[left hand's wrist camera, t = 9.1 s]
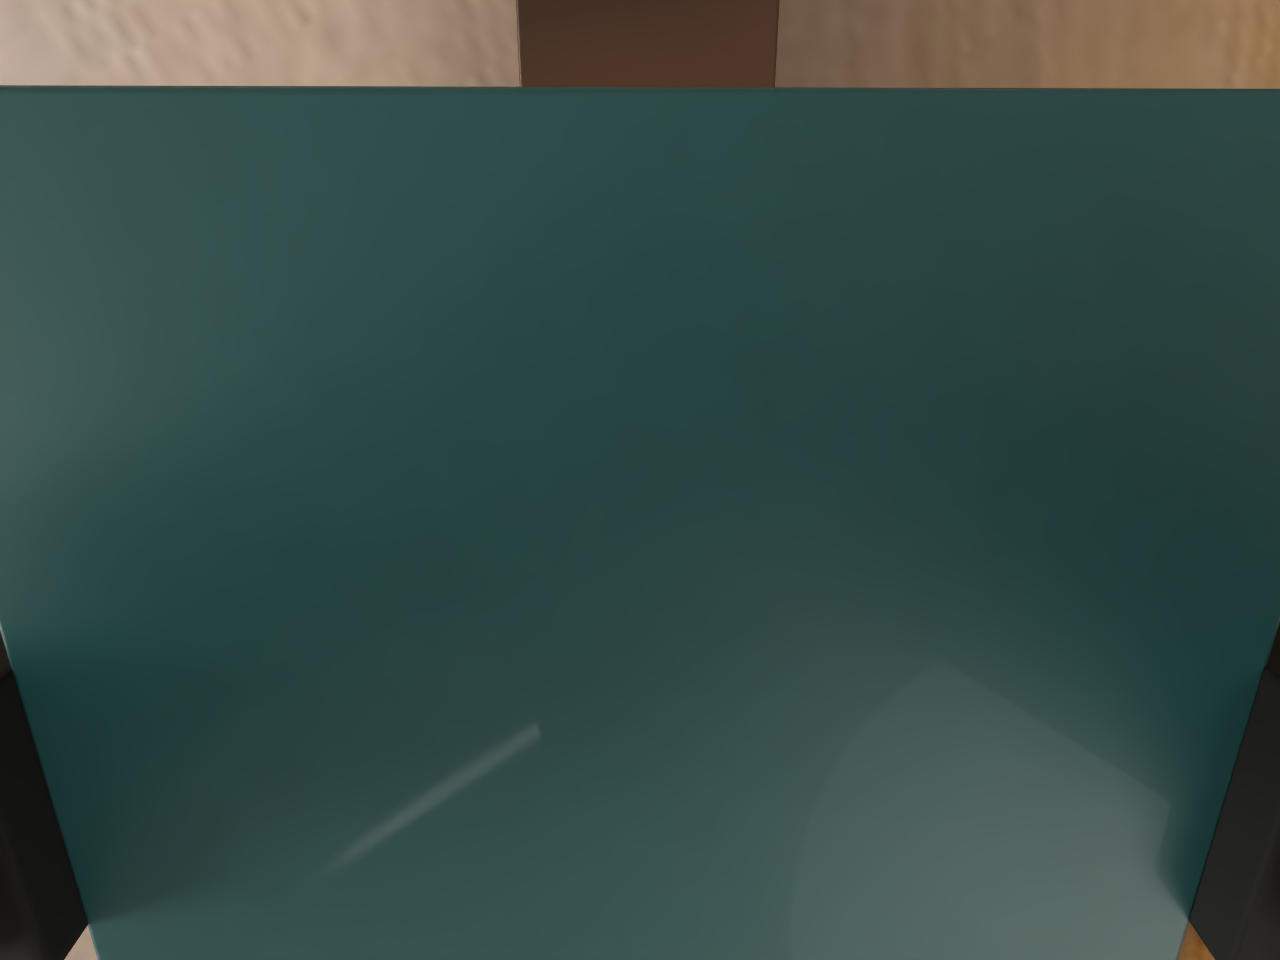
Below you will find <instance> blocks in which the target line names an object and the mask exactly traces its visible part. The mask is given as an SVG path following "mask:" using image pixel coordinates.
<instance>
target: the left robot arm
mask: <svg viewBox="0 0 1280 960" xmlns="http://www.w3.org/2000/svg"><path fill="white" fill-rule="evenodd" d="M1189 922H1190V923H1191V925H1192V926H1193V928H1194V929H1195V931H1196V932H1197V933H1198V935H1199V936H1200V938H1201V939H1202V941H1203V942H1204V944H1205V945H1206V947H1207V948H1208V950H1209V951H1210V953H1211V954H1212V955H1213V957H1214V958H1215V960H1280V622H1279V626H1278V629H1277V632H1276V636H1275V639H1274V642H1273V646H1272V649H1271V652H1270V655H1269V659H1268V662H1267V665H1266V666H1265V667H1264V671H1263V674H1262V677H1261V681H1260V684H1259V687H1258V691H1257V694H1256V697H1255V701H1254V704H1253V707H1252V711H1251V714H1250V717H1249V721H1248V724H1247V727H1246V731H1245V734H1244V737H1243V741H1242V744H1241V747H1240V751H1239V754H1238V757H1237V761H1236V764H1235V767H1234V771H1233V774H1232V777H1231V781H1230V784H1229V787H1228V791H1227V794H1226V797H1225V801H1224V804H1223V807H1222V811H1221V814H1220V817H1219V821H1218V824H1217V827H1216V831H1215V834H1214V837H1213V841H1212V844H1211V847H1210V851H1209V854H1208V857H1207V861H1206V864H1205V868H1204V871H1203V874H1202V878H1201V881H1200V884H1199V888H1198V891H1197V894H1196V898H1195V901H1194V904H1193V908H1192V911H1191V914H1190V918H1189ZM87 925H88V922H87V919H86V915H85V912H84V909H83V905H82V902H81V899H80V895H79V892H78V889H77V885H76V882H75V879H74V875H73V872H72V869H71V865H70V862H69V859H68V855H67V852H66V849H65V845H64V842H63V839H62V835H61V832H60V829H59V825H58V822H57V819H56V815H55V812H54V809H53V805H52V802H51V799H50V795H49V792H48V789H47V785H46V782H45V779H44V775H43V772H42V769H41V765H40V762H39V759H38V755H37V752H36V749H35V745H34V742H33V739H32V735H31V732H30V729H29V725H28V722H27V719H26V715H25V712H24V709H23V705H22V702H21V698H20V695H19V692H18V688H17V685H16V682H15V678H14V675H13V672H12V668H11V665H10V662H9V658H8V655H7V651H6V648H5V645H4V641H3V638H2V635H1V631H0V960H64V959H65V957H66V956H67V955H68V953H69V952H70V950H71V949H72V947H73V946H74V944H75V943H76V941H77V940H78V938H79V937H80V935H81V934H82V932H83V931H84V930H85V928H86V927H87Z"/></svg>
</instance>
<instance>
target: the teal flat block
mask: <svg viewBox="0 0 1280 960" xmlns="http://www.w3.org/2000/svg"><path fill="white" fill-rule="evenodd" d="M1279 622H1280V89H1103V88H738V87H373V86H9V85H0V631H1V635H2V638H3V641H4V645H5V648H6V651H7V655H8V658H9V662H10V665H11V668H12V672H13V675H14V678H15V682H16V685H17V688H18V692H19V695H20V698H21V702H22V705H23V709H24V712H25V715H26V719H27V722H28V725H29V729H30V732H31V735H32V739H33V742H34V745H35V749H36V752H37V755H38V759H39V762H40V765H41V769H42V772H43V775H44V779H45V782H46V785H47V789H48V792H49V795H50V799H51V802H52V805H53V809H54V812H55V815H56V819H57V822H58V825H59V829H60V832H61V835H62V839H63V842H64V845H65V849H66V852H67V855H68V859H69V862H70V865H71V869H72V872H73V875H74V879H75V882H76V885H77V889H78V892H79V895H80V899H81V902H82V905H83V909H84V912H85V915H86V919H87V922H88V927H89V930H90V934H91V937H92V940H93V944H94V947H95V950H96V954H97V957H98V960H1178V957H1179V953H1180V950H1181V947H1182V944H1183V940H1184V937H1185V934H1186V930H1187V927H1188V924H1189V918H1190V914H1191V911H1192V908H1193V904H1194V901H1195V898H1196V894H1197V891H1198V888H1199V884H1200V881H1201V878H1202V874H1203V871H1204V868H1205V864H1206V861H1207V857H1208V854H1209V851H1210V847H1211V844H1212V841H1213V837H1214V834H1215V831H1216V827H1217V824H1218V821H1219V817H1220V814H1221V811H1222V807H1223V804H1224V801H1225V797H1226V794H1227V791H1228V787H1229V784H1230V781H1231V777H1232V774H1233V771H1234V767H1235V764H1236V761H1237V757H1238V754H1239V751H1240V747H1241V744H1242V741H1243V737H1244V734H1245V731H1246V727H1247V724H1248V721H1249V717H1250V714H1251V711H1252V707H1253V704H1254V701H1255V697H1256V694H1257V691H1258V687H1259V684H1260V681H1261V677H1262V674H1263V671H1264V667H1265V666H1266V665H1267V662H1268V659H1269V655H1270V652H1271V649H1272V646H1273V642H1274V639H1275V636H1276V632H1277V629H1278V626H1279Z"/></svg>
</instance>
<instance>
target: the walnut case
mask: <svg viewBox="0 0 1280 960" xmlns="http://www.w3.org/2000/svg"><path fill="white" fill-rule="evenodd" d="M516 9H517V32H518V55H519V78H520V87H738V88H775V72H776V54H777V35H778V16H779V0H516Z"/></svg>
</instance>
